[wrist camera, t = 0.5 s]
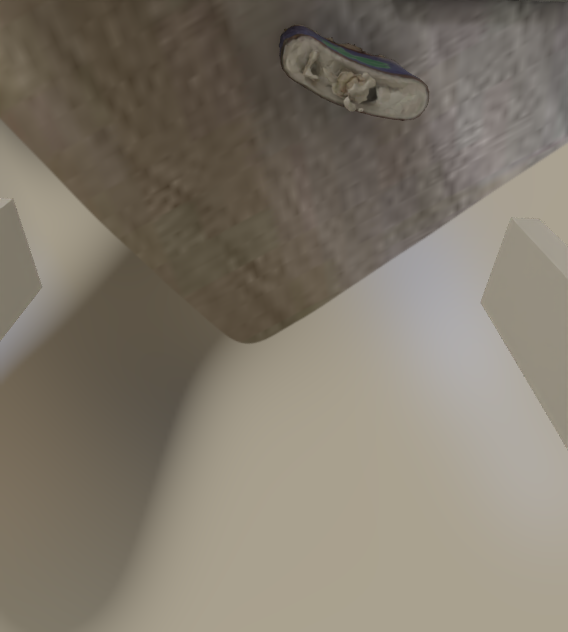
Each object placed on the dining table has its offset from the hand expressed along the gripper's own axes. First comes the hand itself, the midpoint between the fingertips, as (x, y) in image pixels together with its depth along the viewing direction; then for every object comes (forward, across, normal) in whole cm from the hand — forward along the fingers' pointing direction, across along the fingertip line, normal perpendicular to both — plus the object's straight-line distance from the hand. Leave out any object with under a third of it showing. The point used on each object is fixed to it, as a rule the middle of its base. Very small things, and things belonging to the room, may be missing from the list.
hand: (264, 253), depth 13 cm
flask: (+27, +4, +1) cm, 27 cm away
